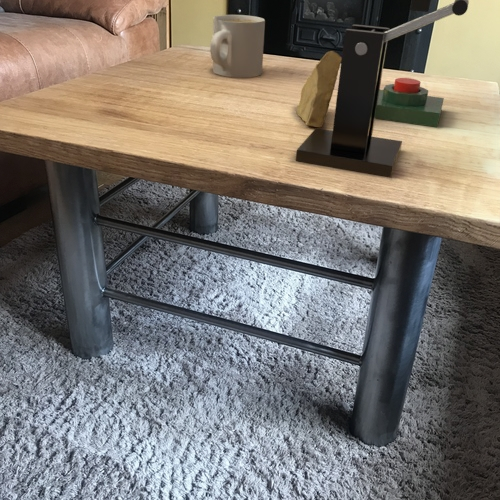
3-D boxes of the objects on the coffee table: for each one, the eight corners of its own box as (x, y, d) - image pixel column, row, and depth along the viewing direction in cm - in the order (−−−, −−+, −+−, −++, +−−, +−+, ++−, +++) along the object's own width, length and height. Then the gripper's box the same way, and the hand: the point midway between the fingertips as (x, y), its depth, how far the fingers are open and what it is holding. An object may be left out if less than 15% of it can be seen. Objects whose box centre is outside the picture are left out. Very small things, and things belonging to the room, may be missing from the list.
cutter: (400, 151, 76) (423, 28, 68) (390, 177, 68) (415, 40, 60) (314, 137, 80) (327, 18, 72) (295, 160, 71) (307, 29, 63)
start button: (419, 90, 92) (421, 79, 91) (417, 96, 89) (419, 85, 88) (394, 87, 93) (396, 76, 92) (391, 92, 90) (393, 81, 89)
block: (441, 110, 95) (446, 87, 93) (437, 127, 87) (442, 101, 85) (370, 101, 98) (374, 78, 96) (360, 116, 90) (364, 91, 88)
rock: (338, 119, 80) (364, 95, 87) (307, 66, 78) (336, 46, 85) (284, 148, 87) (312, 124, 94) (254, 100, 86) (285, 79, 92)
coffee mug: (237, 64, 119) (239, 13, 114) (272, 73, 113) (275, 20, 108) (189, 72, 110) (189, 18, 105) (224, 82, 105) (225, 25, 100)
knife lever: (471, 10, 64) (465, -11, 63) (470, 15, 60) (464, -7, 59) (361, 55, 70) (355, 36, 69) (354, 62, 66) (347, 43, 65)
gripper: (431, -178, 79) (399, 3, 91) (423, -196, 68) (388, 12, 80) (487, -177, 77) (447, 8, 89) (488, -195, 66) (442, 18, 78)
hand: (419, 10), depth 85 cm, fingers closed
